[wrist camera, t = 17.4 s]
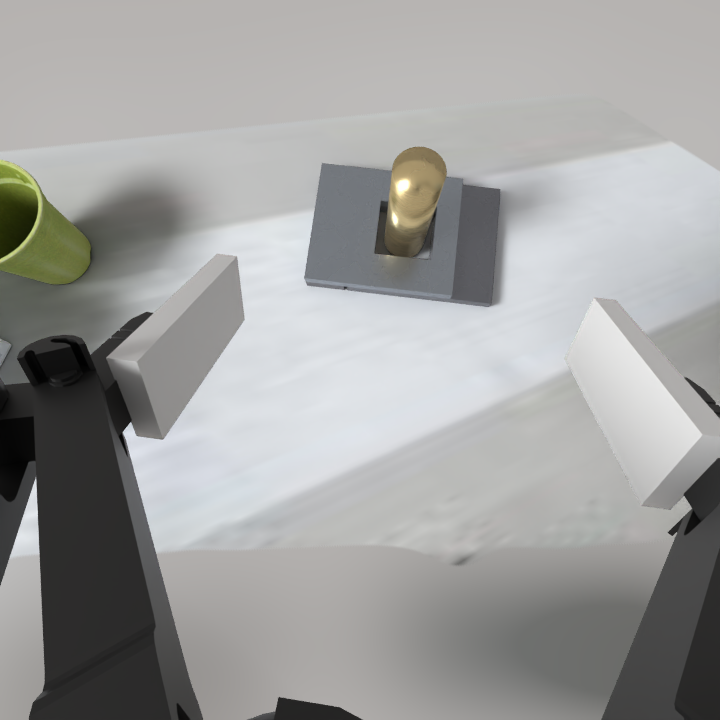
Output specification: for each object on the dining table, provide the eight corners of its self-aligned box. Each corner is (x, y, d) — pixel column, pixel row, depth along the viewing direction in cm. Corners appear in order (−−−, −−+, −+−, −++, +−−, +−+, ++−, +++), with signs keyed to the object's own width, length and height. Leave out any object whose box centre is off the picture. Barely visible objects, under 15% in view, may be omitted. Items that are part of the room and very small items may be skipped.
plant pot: (64, 196, 41) (-16, 136, 32) (129, 249, 40) (64, 203, 31) (-2, 263, 40) (-103, 219, 31) (63, 319, 39) (-22, 291, 30)
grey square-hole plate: (497, 194, 40) (500, 189, 39) (488, 306, 39) (491, 303, 38) (362, 179, 41) (362, 173, 40) (347, 290, 39) (346, 286, 38)
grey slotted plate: (458, 190, 41) (463, 178, 39) (447, 302, 39) (452, 295, 37) (323, 175, 41) (322, 163, 39) (307, 285, 39) (304, 278, 37)
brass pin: (425, 223, 40) (449, 149, 29) (421, 260, 39) (443, 199, 29) (386, 219, 40) (395, 144, 29) (382, 255, 40) (389, 192, 29)
